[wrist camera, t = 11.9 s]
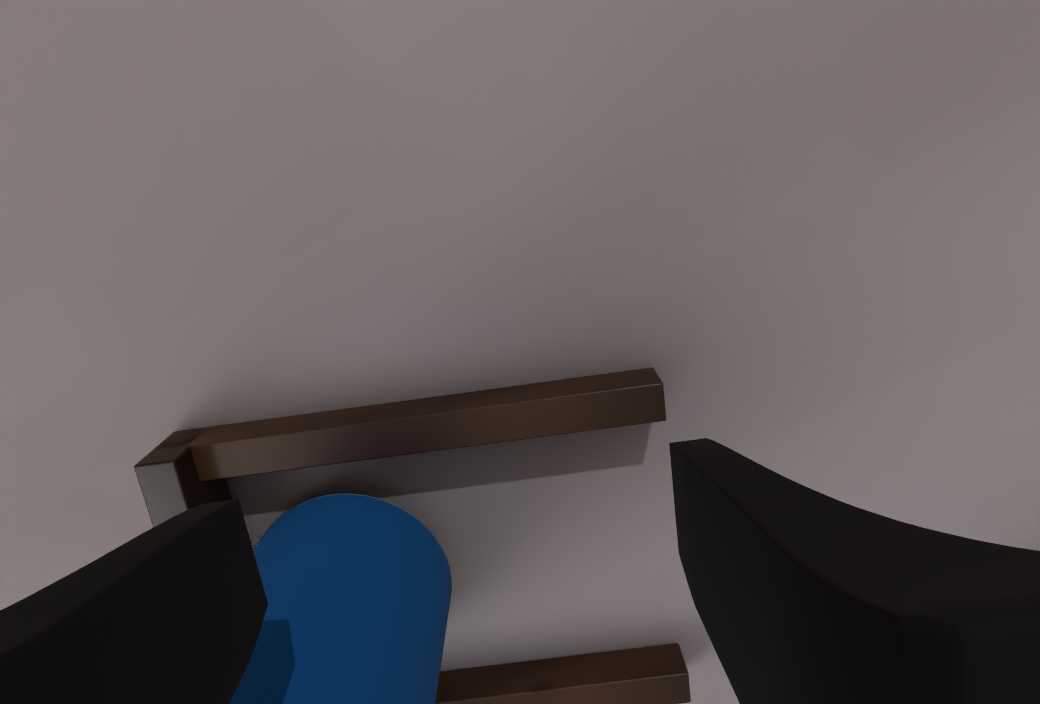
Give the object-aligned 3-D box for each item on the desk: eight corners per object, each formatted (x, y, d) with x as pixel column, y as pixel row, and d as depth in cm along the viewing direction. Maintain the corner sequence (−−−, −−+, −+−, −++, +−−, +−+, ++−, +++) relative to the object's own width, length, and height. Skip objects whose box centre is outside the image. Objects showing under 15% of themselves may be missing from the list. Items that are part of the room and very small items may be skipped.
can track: (653, 366, 22) (670, 394, 19) (681, 670, 25) (698, 726, 23) (173, 431, 22) (132, 465, 20) (261, 720, 26) (234, 780, 23)
